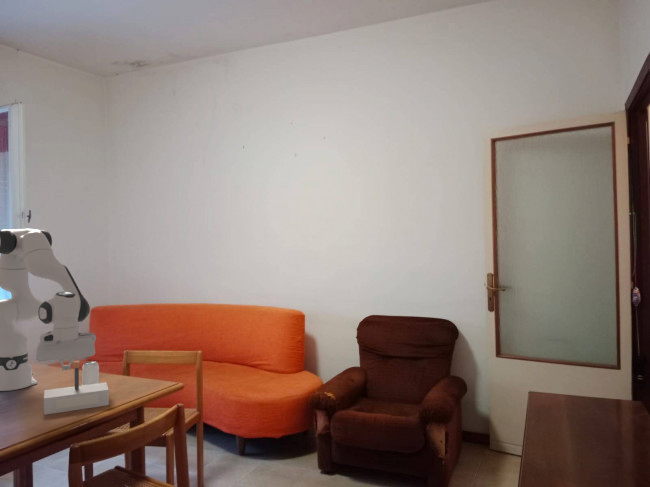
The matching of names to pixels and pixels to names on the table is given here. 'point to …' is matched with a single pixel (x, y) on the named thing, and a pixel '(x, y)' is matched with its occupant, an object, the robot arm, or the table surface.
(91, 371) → the can
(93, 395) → the box
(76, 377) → the lever
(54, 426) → the table surface
